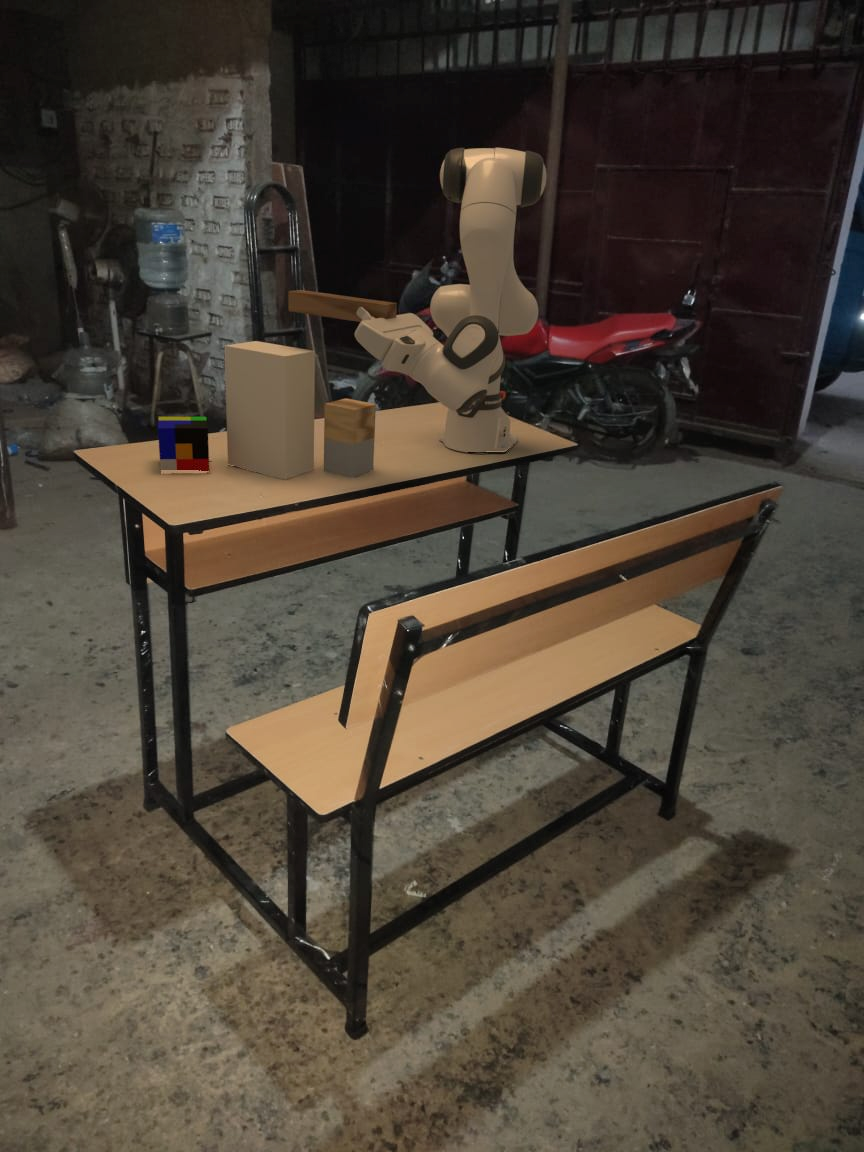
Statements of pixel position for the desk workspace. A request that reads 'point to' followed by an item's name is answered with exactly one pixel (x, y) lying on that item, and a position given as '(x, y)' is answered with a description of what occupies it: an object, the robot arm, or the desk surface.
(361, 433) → the tower top
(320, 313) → the walnut bar
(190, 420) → the puzzle toy
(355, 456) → the tower bottom
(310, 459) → the tall beige box
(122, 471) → the desk surface
